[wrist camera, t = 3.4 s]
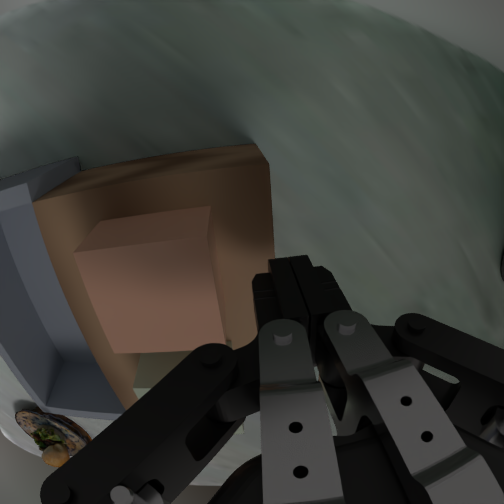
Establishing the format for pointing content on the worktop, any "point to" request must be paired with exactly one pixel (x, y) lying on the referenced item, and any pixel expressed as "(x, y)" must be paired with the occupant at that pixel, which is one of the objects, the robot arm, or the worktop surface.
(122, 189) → the wooden block
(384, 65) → the worktop surface
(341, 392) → the robot arm
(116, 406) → the tray
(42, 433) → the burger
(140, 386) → the tile sage
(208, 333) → the tile terracotta
